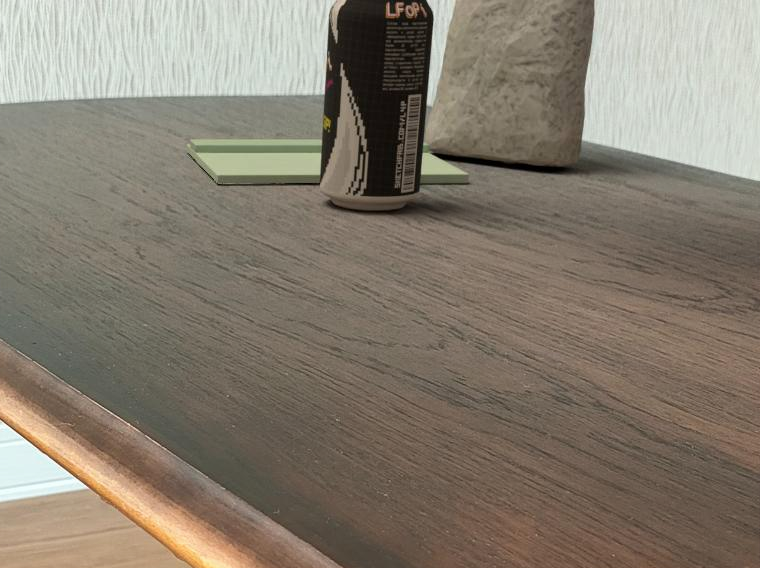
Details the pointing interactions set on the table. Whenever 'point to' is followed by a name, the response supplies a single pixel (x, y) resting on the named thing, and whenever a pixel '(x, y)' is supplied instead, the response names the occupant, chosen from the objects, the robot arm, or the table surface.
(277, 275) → the table surface
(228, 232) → the table surface
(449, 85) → the decorative stone
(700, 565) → the table surface
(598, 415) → the table surface
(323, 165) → the beverage can
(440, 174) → the green tray
